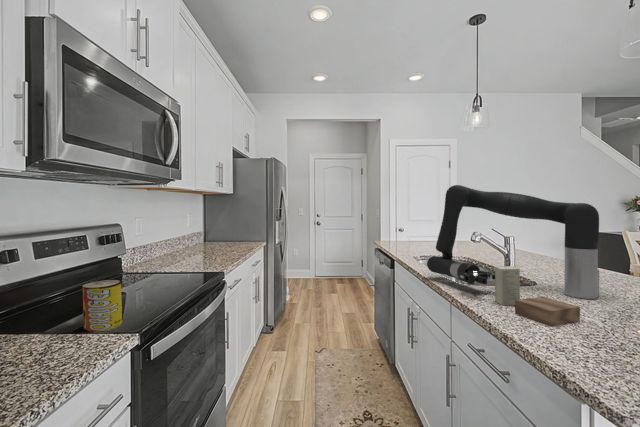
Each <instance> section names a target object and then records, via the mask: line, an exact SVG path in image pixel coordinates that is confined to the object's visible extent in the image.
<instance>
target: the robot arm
mask: <svg viewBox="0 0 640 427" xmlns="http://www.w3.org/2000/svg"><path fill="white" fill-rule="evenodd" d="M463 207H465V208H477V209H482V210H486V211H489V212H492V213H495V214H498V215H502V216H508V217H511V218H519V219H527V220H528V219H529V220H545V221H549V222H550V221H552V222H556V223H560V224H564V281H563V282H564V286H563V287H564V292H563V293H564V295H566V296H568V297H572V298H577V299H587V300H594V299H595V300H596V299H598V297H600V270H599V268H598V266H599V265H598V264H599V249H598V248H599V239H600V236H599V234H600V214H599V211H598V210H597V208H596V207H595V206H593V205H592V204H589V203H585V202H577V203H575V202H559V201H553V200H546V199H543V198H540V197H536V196H531V195H528V194H521V193H515V192H505V191H484V190H480V189H479V190H478V189H474V188H470V187H467V186H464V185H460V184H454V185H452V186H449V188H447V190H446V193H445V200H444V210H443V217H442V222H441V226H440V228H439V233H438V236H437V241H436V245H435V250H436V251H437V252H439V253H441V256H435V255H434V256H431V257H428V260H427V261H426V267H427V269H428V270H429V271H430V272H431V273H435V274H440V275H446V276H448V277H450V278H453V279H456V280H458V281H462V282H464V283H467V284H470V285H471V284H472V285H473V284H481V285H487V284H488V282H493V281H495V270H484V269H480V267H479V266H478V265H476V264H474V263H470V262H465V261H460V260H459V261H458V260H456V259H453V249H454V246H455V242H456V239H457V238H456V237H457V231H458V222H459V218H460V215H461V212H462V209H463Z"/></svg>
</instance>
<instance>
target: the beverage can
mask: <svg viewBox="0 0 640 427" xmlns="http://www.w3.org/2000/svg"><path fill="white" fill-rule="evenodd" d="M122 301H123V300H122V281H121V280H117V279H108V280H100V281H99V280H98V281H93V282H89V283H85V284H83V285H82V314H83V315H82V317H83V320H82V322H83V331H84V332H86V333H87V332H88V333H98V332H105V331H109V330H113V329H116V328H118V327H120V326H121V325H122V324H123V307H122V306H123V305H122V304H123V303H122Z"/></svg>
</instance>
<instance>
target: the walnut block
mask: <svg viewBox="0 0 640 427" xmlns="http://www.w3.org/2000/svg"><path fill="white" fill-rule="evenodd" d="M580 313H581V307H580V306H578V305H574V304H570V303H566V302H563V301H559V300H556V299H553V298H548V297H544V296H537V297H536V296H535V297H528V298H520V299H519V300H515V305H514V314H515V315H518V316H521V317H524V318H527V319H529V320H531V321H535V322H537V323H541V324H542V325H543V324H544V325H546V326H548V327H556V326H561V324H563V325H567V323H569V324H575V323H580V322H581V321H580V320H581V316H580V315H581V314H580ZM574 322H575V323H574Z"/></svg>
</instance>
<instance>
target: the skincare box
mask: <svg viewBox="0 0 640 427" xmlns="http://www.w3.org/2000/svg"><path fill="white" fill-rule="evenodd" d="M494 272H495V280H494V288H495V289H494V291H495V292H494V298H495V302H496V303H498V304H499V305H500V306H515V300H519V299H521V291H520V290H521V289H520V288H521V287H520V285H521V284H520V283H521V281H520V280H521V279H520V276H521V275H520V272H521V270H520V268H518V267H516V266H512V265H506V266H494Z"/></svg>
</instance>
